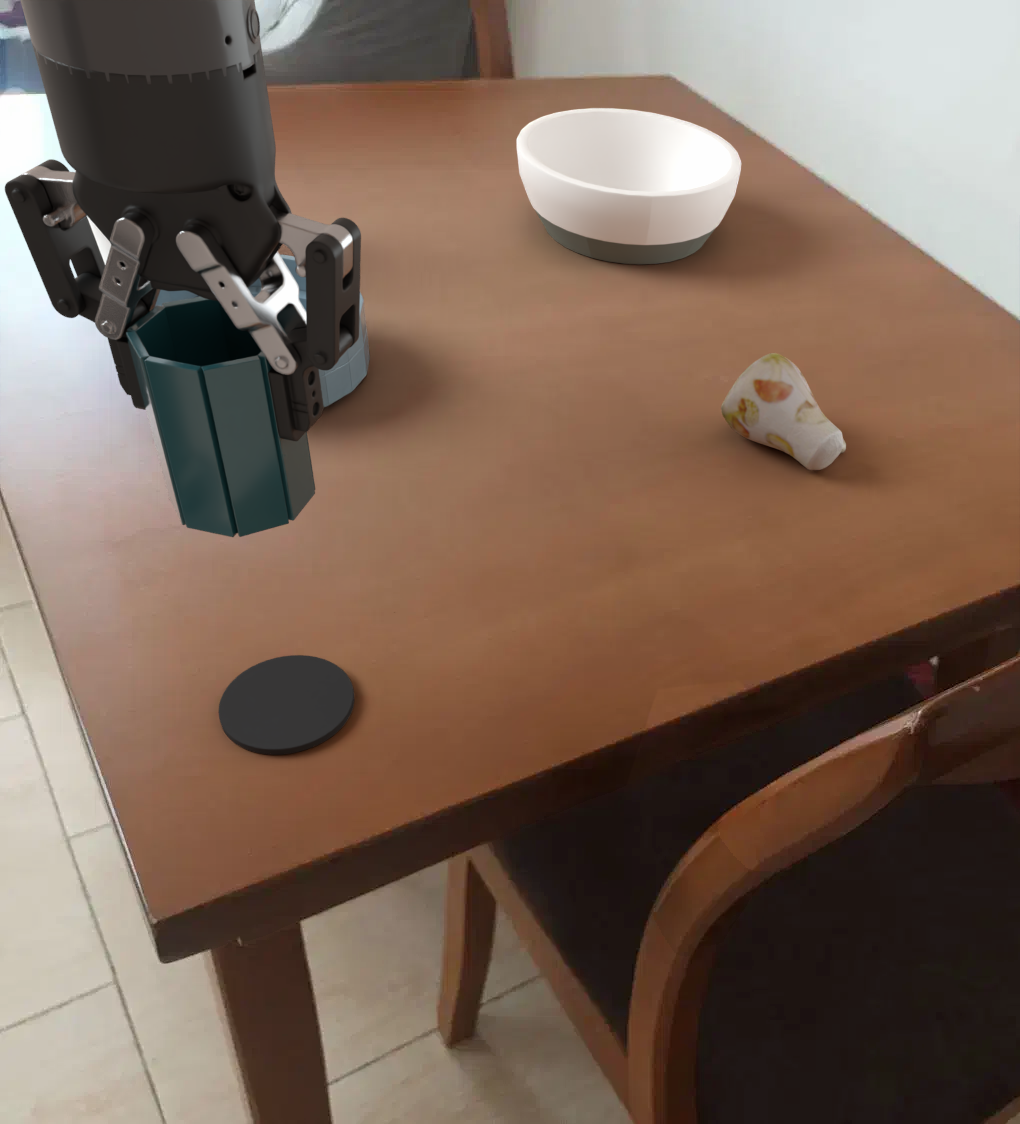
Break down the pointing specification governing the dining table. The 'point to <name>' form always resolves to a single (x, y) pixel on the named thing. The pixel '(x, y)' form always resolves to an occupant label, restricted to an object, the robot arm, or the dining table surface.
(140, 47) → the robot arm
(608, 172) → the bowl
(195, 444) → the teal cup
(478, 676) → the dining table surface
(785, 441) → the white pear shape
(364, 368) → the glazed bowl
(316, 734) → the coaster
